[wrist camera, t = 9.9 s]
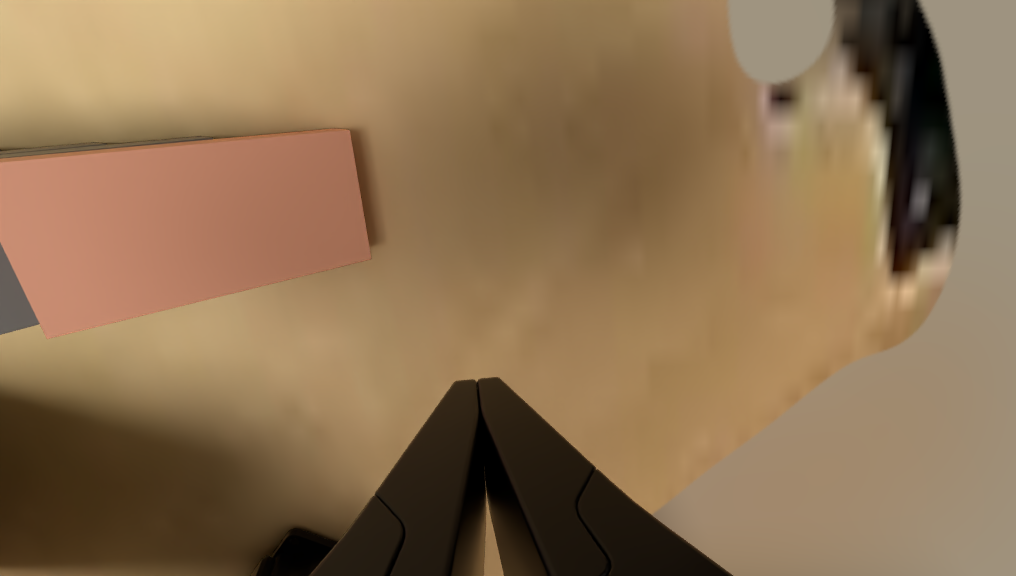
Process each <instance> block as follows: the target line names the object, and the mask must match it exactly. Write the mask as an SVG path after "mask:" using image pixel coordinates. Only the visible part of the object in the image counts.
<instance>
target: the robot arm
mask: <svg viewBox="0 0 1016 576" xmlns="http://www.w3.org/2000/svg"><path fill="white" fill-rule="evenodd" d="M477 388H478V389H477ZM484 471H485V472H484ZM485 482H486V485H485ZM486 491H487V499H488V504H489V510H490V514H491V519H492V523H493V528H494V532H495V537H496V541H497V546H498V550H499V555H500V559H501V564H502V568H503V573H504V576H733V575H732V574H730V573H729V572H728V571H726V570H725V569H724V568H722V567H721V566H720V565H718V564H717V563H715V562H714V561H713V560H711V559H710V558H709V557H707V556H706V555H705V554H703V553H702V552H701V551H699V550H698V549H696V548H695V547H694V546H692V545H691V544H690V543H688V542H687V541H686V540H684V539H683V538H681V537H680V536H679V535H677V534H676V533H675V532H673V531H672V530H670V529H669V528H668V527H667V526H665V525H664V524H662V523H661V522H660V521H659V520H657V519H656V518H655V517H653V516H652V515H651V514H650V513H648V512H647V511H646V510H645V509H643V508H642V507H641V506H639V505H638V504H637V503H636V502H634V501H633V500H632V499H631V498H630V497H628V496H627V495H626V494H625V493H624V492H623V491H622V490H620V489H619V488H618V487H617V486H616V485H615V484H614V483H612V482H611V481H610V480H609V479H608V478H607V477H606V476H605V475H604V474H603V473H602V472H601V471H599V470H598V469H596V467H595V466H594V465H593V464H592V463H591V462H589V461H588V460H587V459H586V458H585V457H584V456H583V455H582V454H581V453H580V452H579V451H578V450H577V449H575V448H574V447H573V446H572V445H571V444H570V443H569V442H568V441H567V440H566V439H565V438H564V437H563V436H561V435H560V434H559V433H558V432H557V431H556V430H555V429H554V428H553V427H552V426H551V425H550V424H549V423H547V422H546V421H545V420H544V419H543V418H542V417H541V416H540V415H539V414H538V413H537V412H536V411H535V410H533V409H532V408H531V407H530V406H529V405H528V404H527V403H526V402H525V401H524V400H523V399H522V398H521V397H519V396H518V395H517V394H516V393H515V392H514V391H513V390H512V389H511V388H510V387H509V386H508V385H507V384H505V383H504V382H503V381H502V380H501V379H500V378H498V377H491V378H482V379H479V380H478V381H477V382H476V381H475V380H473V379H471V380H461V381H455V382H454V383H453V384H452V386H451V387H450V389H449V390H448V391H447V393H446V394H445V396H444V397H443V398H442V400H441V401H440V403H439V404H438V406H437V407H436V408H435V410H434V411H433V413H432V414H431V415H430V417H429V418H428V420H427V421H426V422H425V424H424V425H423V427H422V428H421V429H420V431H419V432H418V434H417V435H416V436H415V438H414V439H413V441H412V442H411V443H410V445H409V446H408V448H407V449H406V450H405V452H404V453H403V455H402V456H401V457H400V459H399V460H398V462H397V463H396V464H395V466H394V467H393V469H392V470H391V471H390V473H389V474H388V476H387V477H386V478H385V480H384V481H383V483H382V484H381V485H380V487H379V488H378V490H377V491H376V492H375V496H373V497H372V498H371V499H370V501H369V502H368V503H367V505H366V506H365V508H364V509H363V510H362V512H361V513H360V514H359V516H358V517H357V518H356V520H355V521H354V522H353V524H352V525H351V526H350V528H349V529H348V530H347V532H346V533H345V534H344V535H343V537H342V538H341V539H340V540H339V542H338V543H336V542H334V541H331V540H328V539H325V538H323V537H320V536H317V535H315V534H312V533H309V532H306V531H304V530H301V529H292V530H290V531H289V532H288V533H287V535H286V536H285V537H284V539H283V540H282V542H281V543H280V545H279V546H278V547H277V549H276V550H275V552H274V553H273V554H272V556H266V557H264V558H262V560H261V561H260V563H259V564H258V565H257V567H256V568H255V570H254V571H253V572H252V574H251V575H250V576H484V557H485V531H486Z"/></svg>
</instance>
